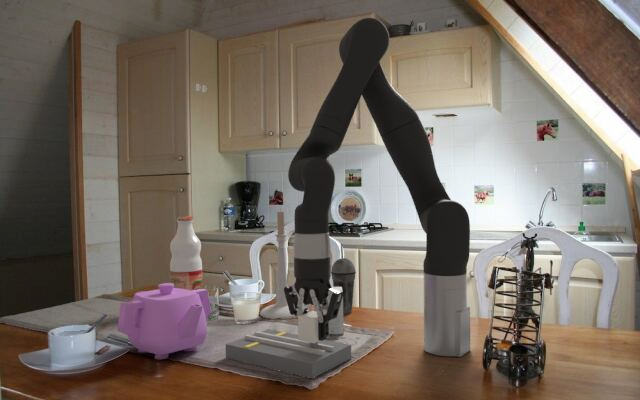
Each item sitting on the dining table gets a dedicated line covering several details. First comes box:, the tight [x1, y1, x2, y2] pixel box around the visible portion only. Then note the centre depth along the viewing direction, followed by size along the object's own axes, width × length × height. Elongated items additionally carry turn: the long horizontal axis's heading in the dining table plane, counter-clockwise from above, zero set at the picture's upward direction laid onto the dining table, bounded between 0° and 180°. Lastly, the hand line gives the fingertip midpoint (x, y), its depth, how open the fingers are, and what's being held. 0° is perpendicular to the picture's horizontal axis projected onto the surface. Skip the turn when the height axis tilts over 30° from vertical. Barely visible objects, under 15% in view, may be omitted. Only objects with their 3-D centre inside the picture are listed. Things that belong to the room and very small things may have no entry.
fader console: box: [225, 328, 352, 379], centre depth 113 cm, size 23×14×4 cm, turn 55°
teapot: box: [116, 282, 212, 360], centre depth 120 cm, size 19×18×15 cm
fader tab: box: [297, 310, 329, 349], centre depth 108 cm, size 4×5×7 cm
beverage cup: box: [331, 243, 357, 315], centre depth 153 cm, size 7×7×20 cm
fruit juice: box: [169, 215, 203, 291], centre depth 159 cm, size 9×9×28 cm
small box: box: [320, 286, 345, 336], centre depth 134 cm, size 8×6×10 cm
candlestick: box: [259, 209, 298, 320], centre depth 152 cm, size 13×13×30 cm
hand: (313, 337), depth 109 cm, fingers closed on fader tab, 4 cm apart
